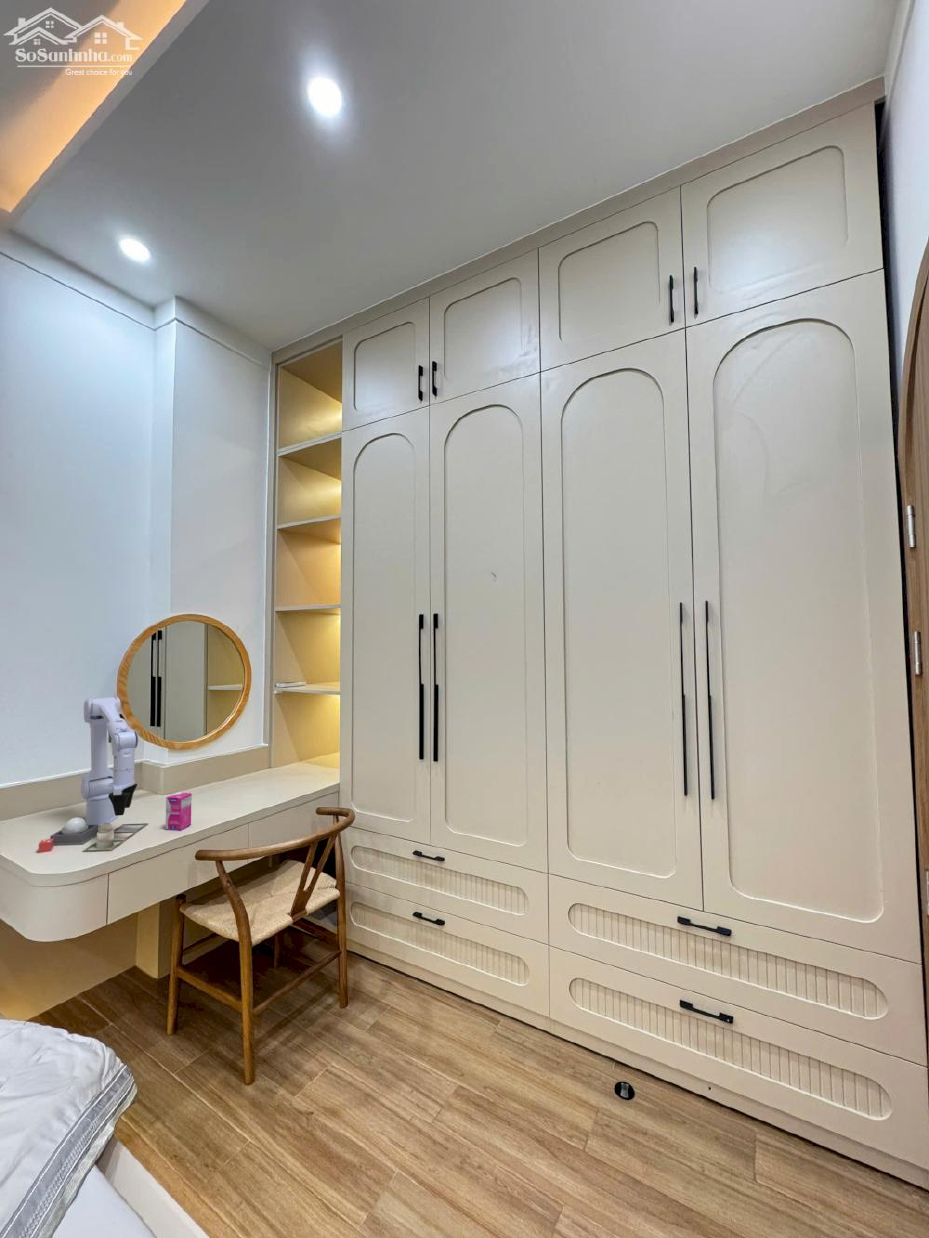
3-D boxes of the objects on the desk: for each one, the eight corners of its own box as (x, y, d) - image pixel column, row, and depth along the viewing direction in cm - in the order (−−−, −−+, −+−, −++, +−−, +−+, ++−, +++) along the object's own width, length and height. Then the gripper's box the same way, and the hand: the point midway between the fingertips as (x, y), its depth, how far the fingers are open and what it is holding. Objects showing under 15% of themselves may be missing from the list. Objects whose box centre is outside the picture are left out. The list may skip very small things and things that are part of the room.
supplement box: (164, 830, 178) (165, 796, 179) (176, 824, 184) (177, 791, 184) (180, 831, 177) (180, 797, 178) (191, 825, 183) (192, 792, 183)
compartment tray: (122, 825, 183) (122, 824, 183) (148, 824, 184) (148, 823, 184) (82, 852, 160) (82, 851, 160) (111, 851, 161) (111, 849, 161)
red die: (41, 849, 162) (41, 839, 162) (53, 848, 163) (53, 838, 163) (38, 853, 159) (38, 843, 159) (50, 851, 160) (51, 841, 161)
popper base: (67, 833, 175) (67, 824, 175) (102, 832, 176) (102, 823, 177) (45, 846, 164) (45, 836, 164) (82, 845, 166) (83, 835, 166)
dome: (70, 831, 173) (70, 814, 174) (92, 830, 174) (93, 813, 174) (56, 839, 167) (56, 821, 167) (80, 839, 167) (80, 821, 168)
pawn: (107, 842, 167) (108, 819, 168) (116, 844, 166) (117, 821, 166) (93, 847, 163) (94, 823, 164) (102, 849, 162) (102, 826, 162)
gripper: (115, 764, 176) (114, 805, 175) (102, 775, 162) (101, 820, 162) (140, 763, 178) (139, 803, 178) (128, 773, 164) (127, 817, 164)
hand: (122, 811), depth 170 cm, fingers open, 7 cm apart
